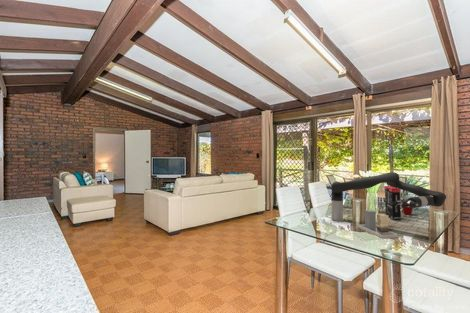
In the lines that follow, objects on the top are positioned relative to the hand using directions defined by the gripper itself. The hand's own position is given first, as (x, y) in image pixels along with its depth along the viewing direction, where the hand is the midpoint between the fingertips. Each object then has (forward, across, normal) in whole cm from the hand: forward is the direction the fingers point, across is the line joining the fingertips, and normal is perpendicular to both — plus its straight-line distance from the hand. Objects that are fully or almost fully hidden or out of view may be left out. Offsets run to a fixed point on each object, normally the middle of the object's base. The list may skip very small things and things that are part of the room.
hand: (397, 204), depth 175 cm
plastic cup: (-52, -51, +24) cm, 77 cm away
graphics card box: (-30, -43, +23) cm, 57 cm away
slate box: (+12, -14, +20) cm, 27 cm away
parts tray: (+12, -7, +21) cm, 25 cm away
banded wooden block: (+12, -1, +20) cm, 23 cm away
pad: (+26, -1, +20) cm, 32 cm away
